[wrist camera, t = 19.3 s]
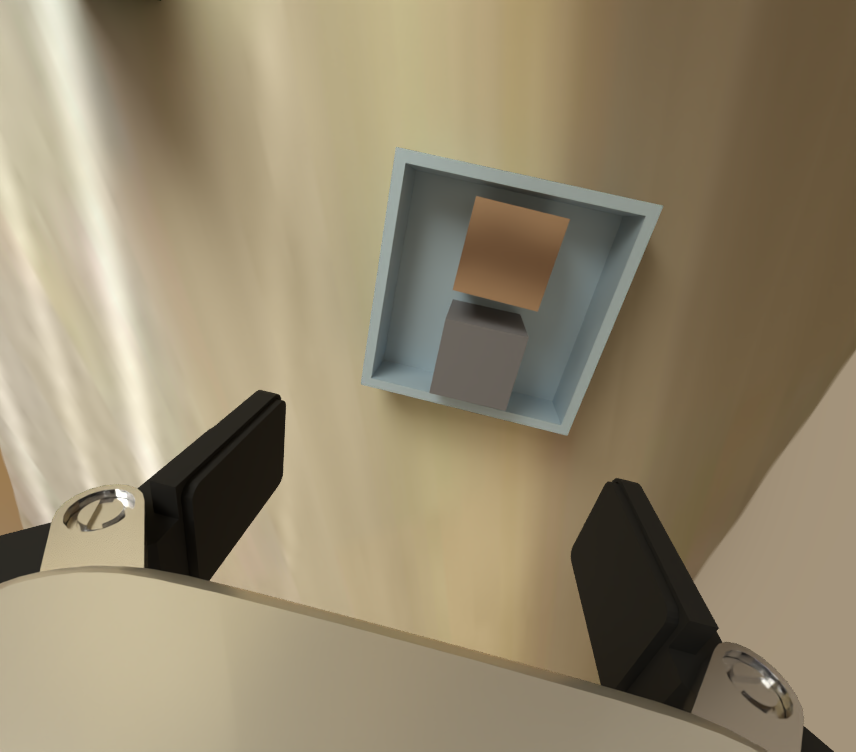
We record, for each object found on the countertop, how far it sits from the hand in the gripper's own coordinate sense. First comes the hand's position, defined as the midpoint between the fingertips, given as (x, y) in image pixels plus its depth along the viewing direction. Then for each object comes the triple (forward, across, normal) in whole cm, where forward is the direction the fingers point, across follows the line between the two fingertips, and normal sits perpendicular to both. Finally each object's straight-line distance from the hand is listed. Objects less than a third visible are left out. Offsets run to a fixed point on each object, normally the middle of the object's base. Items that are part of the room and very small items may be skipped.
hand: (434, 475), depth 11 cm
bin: (+25, -2, 0) cm, 25 cm away
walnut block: (+25, -2, -4) cm, 25 cm away
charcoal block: (+24, -2, +4) cm, 25 cm away
